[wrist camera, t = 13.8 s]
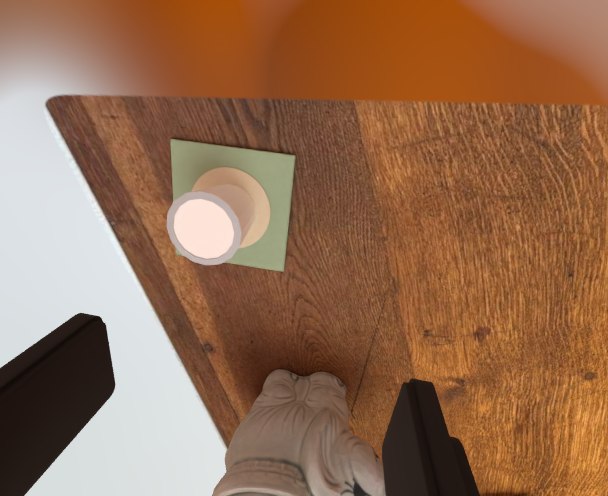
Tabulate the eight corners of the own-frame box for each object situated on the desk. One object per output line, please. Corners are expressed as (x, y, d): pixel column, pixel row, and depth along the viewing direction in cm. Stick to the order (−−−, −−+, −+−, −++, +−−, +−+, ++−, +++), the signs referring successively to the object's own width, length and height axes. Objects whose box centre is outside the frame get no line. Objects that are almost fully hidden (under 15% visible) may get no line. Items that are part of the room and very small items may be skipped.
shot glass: (197, 176, 33) (160, 188, 26) (260, 179, 32) (239, 194, 26) (202, 237, 35) (170, 262, 29) (261, 242, 35) (242, 269, 28)
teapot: (397, 399, 41) (435, 596, 24) (326, 452, 47) (315, 645, 30) (299, 329, 39) (263, 491, 22) (237, 394, 45) (168, 565, 27)
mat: (173, 138, 32) (169, 139, 32) (295, 155, 32) (294, 155, 31) (178, 252, 37) (174, 255, 37) (284, 269, 36) (283, 272, 36)
